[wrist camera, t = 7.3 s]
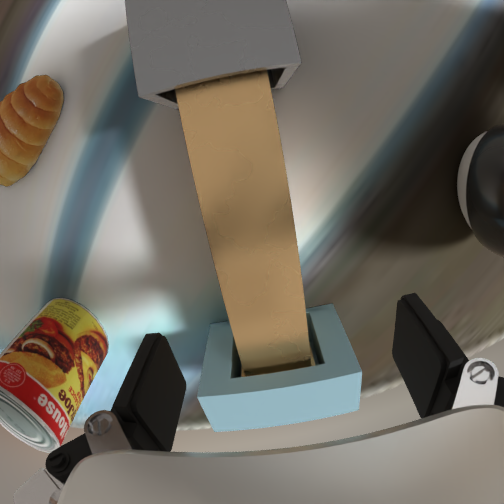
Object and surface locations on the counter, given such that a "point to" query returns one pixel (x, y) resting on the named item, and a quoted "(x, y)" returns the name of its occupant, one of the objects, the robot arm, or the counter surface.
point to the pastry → (27, 125)
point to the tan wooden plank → (248, 217)
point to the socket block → (280, 380)
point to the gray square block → (208, 43)
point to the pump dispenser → (484, 188)
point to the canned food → (50, 372)
